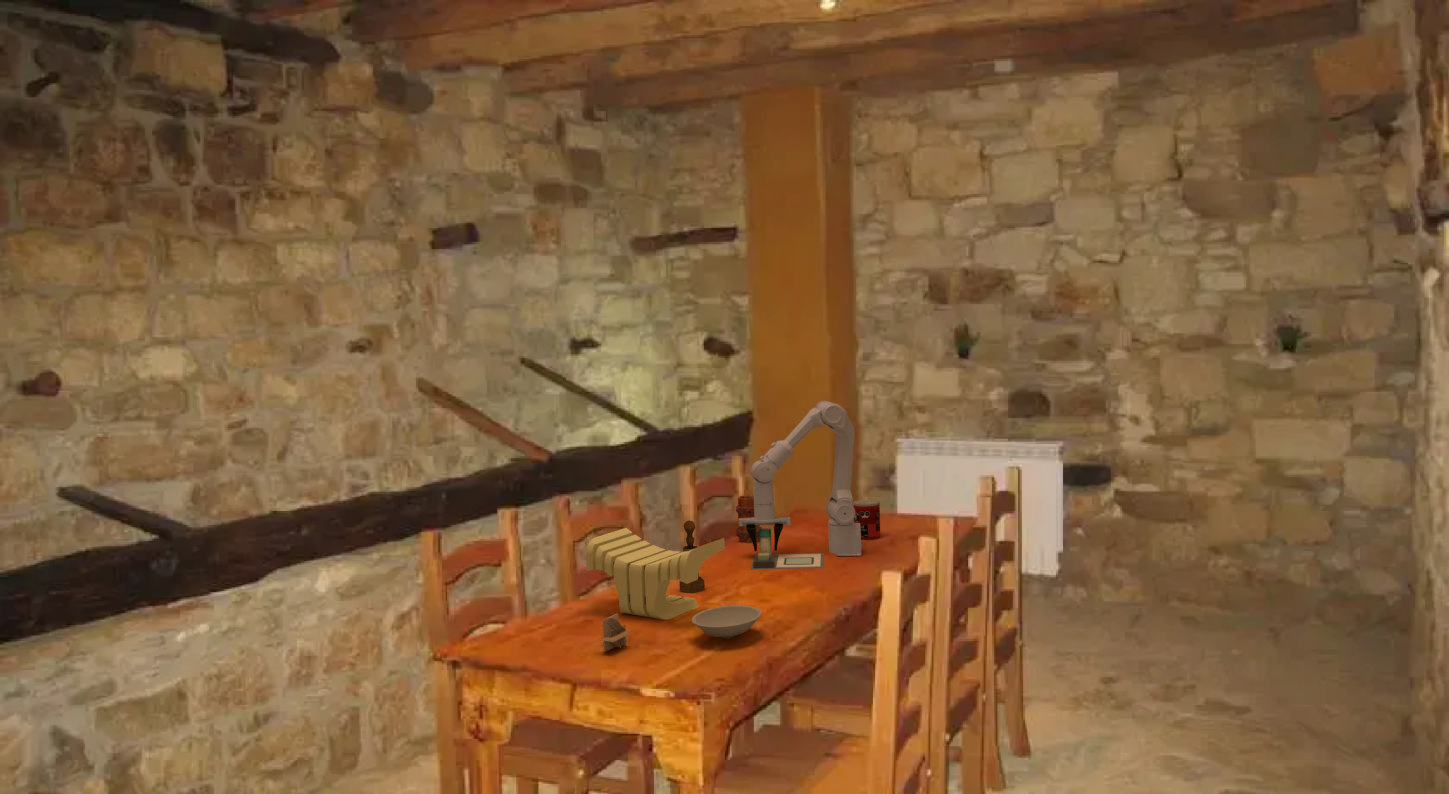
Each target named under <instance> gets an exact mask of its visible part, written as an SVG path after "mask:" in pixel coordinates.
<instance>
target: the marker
mask: <svg viewBox="0 0 1449 794" xmlns="http://www.w3.org/2000/svg"><path fill="white" fill-rule="evenodd" d="M759 537H760V541H759V550H760V551H759V553H769V556H770V557H772V554H773V553H772V529H771V528H769V527H768V528H767V527H766V528H763V527H762V529H759Z"/></svg>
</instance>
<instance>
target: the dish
mask: <svg viewBox="0 0 1449 794" xmlns="http://www.w3.org/2000/svg"><path fill="white" fill-rule="evenodd" d="M762 614H763V613H762V610H761V609H760V608H759V607H758V608H757V607H755V606H750V605H744V604H743V605H742V604H741V605H739V604H735V605H733V604H732V605H722V606H717V607H711V608H707V609H704V610H702V611H700V612H698V613H696V614H694V615H693V616H692V618H691V622H692V624H693V625H695V626H697V627H698V629H699V630H701V631H702V632H703V633H705V634H707V635H709V636H710V637H711V636H712V637H714V638H715V637H716V638H724V639H732V638H733V637H736V636H739V635H741V634H744V633H745V632H747V631H748V630H750V629H751V628H752V627H753V626H754V624H755V623H756V622H757V620H758V619H760V618H761V616H762Z"/></svg>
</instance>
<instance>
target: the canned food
mask: <svg viewBox="0 0 1449 794" xmlns="http://www.w3.org/2000/svg"><path fill="white" fill-rule="evenodd" d="M853 507H854V509H855V517H854V519H853V523H860V530H861V541H862V540H863V541H869V540H870V541H871V540H877V539H879V538H881V510H880V509H881V506H880V501H879V500H877V499H859V500H855V501H853Z"/></svg>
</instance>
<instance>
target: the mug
mask: <svg viewBox="0 0 1449 794" xmlns="http://www.w3.org/2000/svg"><path fill="white" fill-rule="evenodd" d="M735 508H736V509H735V512H736V513H737V518H738V519H737V520H739V518H751V517H754V495H752V491H751V489H745V490H744V491H743V495H739V497H737V505H736V507H735ZM746 527H747V526H739V525H738V528H736V529H735V531H736V533H735V536H737V537H738V540H739V541H738V542H739V543H741V544H743V543H747V544H748V543H752V540H751V538H750V535H749V533H748V532H747V529H746ZM759 529H763V527H761V525H756V540H757V543H760V537H759Z"/></svg>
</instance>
